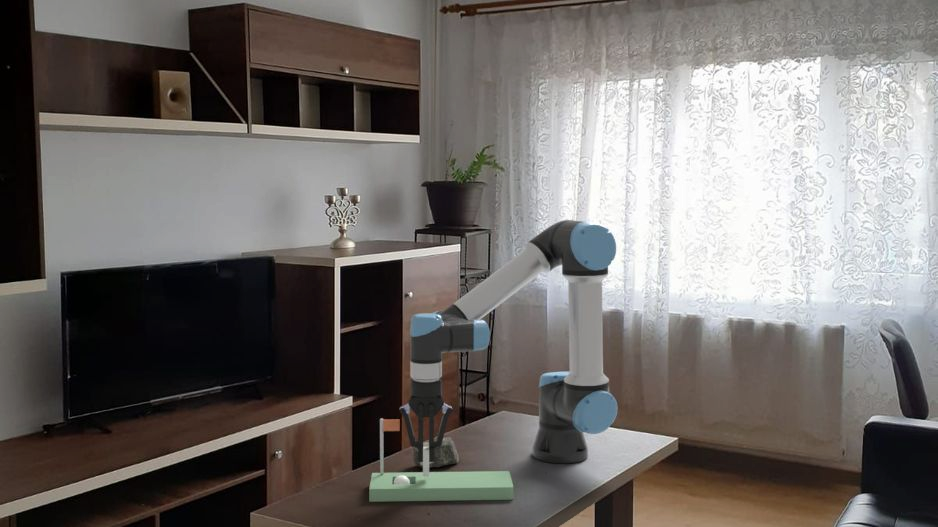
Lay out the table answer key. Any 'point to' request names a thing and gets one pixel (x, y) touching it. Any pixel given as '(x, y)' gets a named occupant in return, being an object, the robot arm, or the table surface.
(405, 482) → the ball
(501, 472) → the green
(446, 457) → the stone
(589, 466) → the table surface
